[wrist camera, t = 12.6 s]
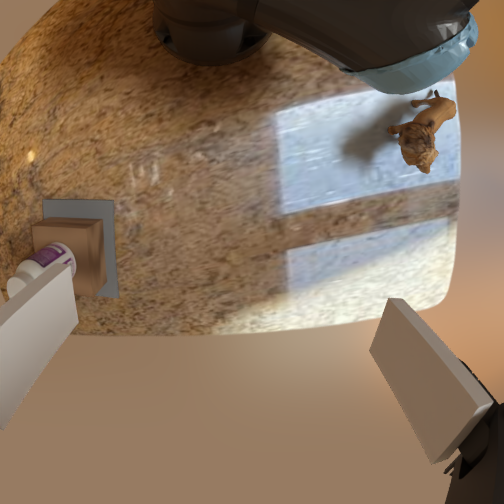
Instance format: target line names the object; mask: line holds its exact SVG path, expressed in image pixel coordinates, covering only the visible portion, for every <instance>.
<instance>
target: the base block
mask: <svg viewBox="0 0 504 504" xmlns="http://www.w3.org/2000/svg"><path fill="white" fill-rule="evenodd" d="M32 236H33V244H34V252H35V253H36V252H38V251H39V250H41V249H42V248H44V247H45V246H47V245H49V244H51V243H53V242H59V243H62V244H64V245H66V246H67V247H68V248H69V249H70V250H71V251H72V253H73V255H74V258H75V261H76V272H75V274H74V276H73V278H72V283H73V290H74V295H79V296H86V297H94V296H95V295H96V294H97V293H98V291H99V290H100V289H101V288H102V287H103V286H104V285H105V284H106V282H107V274H106V263H105V249H104V232H103V219H90V218H66V217H50V218H48V219H45V220H43V221H41V222H39V223H37V224H34V225H32Z"/></svg>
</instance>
